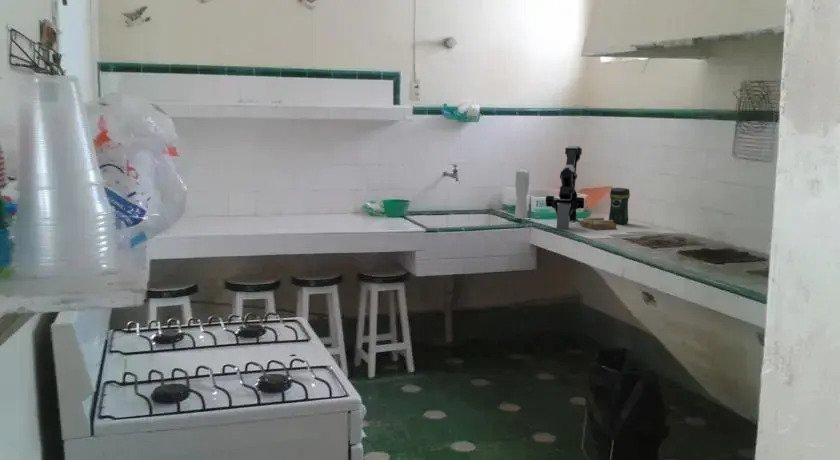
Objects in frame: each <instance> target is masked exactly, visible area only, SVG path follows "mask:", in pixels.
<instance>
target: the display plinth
mask: <svg viewBox="0 0 840 460" xmlns="http://www.w3.org/2000/svg"><path fill="white" fill-rule="evenodd" d="M579 226H580V227H584V228H588V229H591V230H594V231H596V230H598V231H599V230H601V231H602V230H616V229H617V224H614V223H613V220H609V219H605V218H604V217H584V218H583V219H582V220H580V221H579Z"/></svg>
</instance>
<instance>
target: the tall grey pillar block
mask: <svg viewBox="0 0 840 460" xmlns="http://www.w3.org/2000/svg"><path fill="white" fill-rule="evenodd" d="M569 211H570V204H564V203H558V210H557V214H556V229H557V228H559V229H560V230H569V229H570V220H569V218H570V216H569Z"/></svg>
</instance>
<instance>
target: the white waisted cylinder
mask: <svg viewBox="0 0 840 460" xmlns="http://www.w3.org/2000/svg"><path fill="white" fill-rule="evenodd" d="M514 184H515V185H514V186H515V194H516V200H515V201H516V202H515V207H514V209H515V210H514V218H513V219H514V220H516V219H515V218H521V219H523V218H531V219H532V199H531V195H530V196H529V203H528V202H527V196H528V194H529V188H530V171H529V169H528V168H526V167H522V166H521V167H519V168H518V169H516V170H515V183H514Z"/></svg>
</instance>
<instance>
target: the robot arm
mask: <svg viewBox="0 0 840 460" xmlns="http://www.w3.org/2000/svg"><path fill="white" fill-rule="evenodd" d="M564 150H565V151H564V152H565V153H564V154H565V155H566V162H565V163H566V164H565V166H564V167H563V168H562V170H561V171H560V174H559V179H560V182H561V186H559V194H558V197H559V198H557V197H555V195H546V197H545V206H546V207H550V208H552V209H554V211H555V214H556V215H557V210H558V204H559V203H564V204H570V211H569V216H570V218H569V221H575V220H578V219H579V218H577V210H578V209H585V198H584V197H583V196H578V194H577V191H576V180H577V178H578V174H577V166H578V163H579V161H580V160H581V156H582V154H583V148H582V147H580V146H578V145H577V146H576V145H568V146H567V147H565V148H564Z"/></svg>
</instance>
